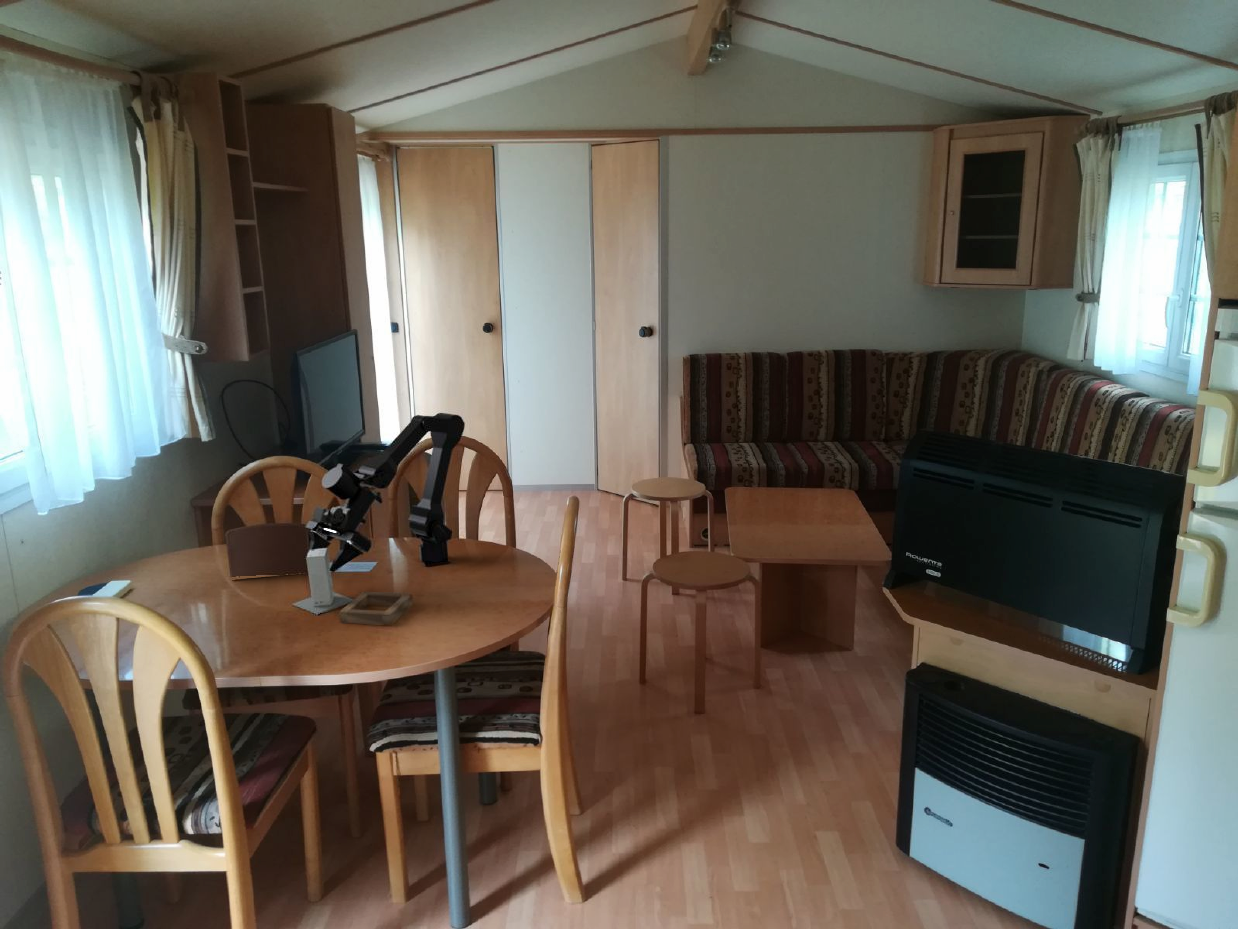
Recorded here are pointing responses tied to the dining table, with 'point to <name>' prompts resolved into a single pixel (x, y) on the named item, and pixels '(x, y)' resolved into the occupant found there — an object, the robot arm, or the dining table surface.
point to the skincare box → (320, 577)
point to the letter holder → (268, 549)
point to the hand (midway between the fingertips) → (319, 567)
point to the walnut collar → (388, 617)
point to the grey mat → (337, 602)
